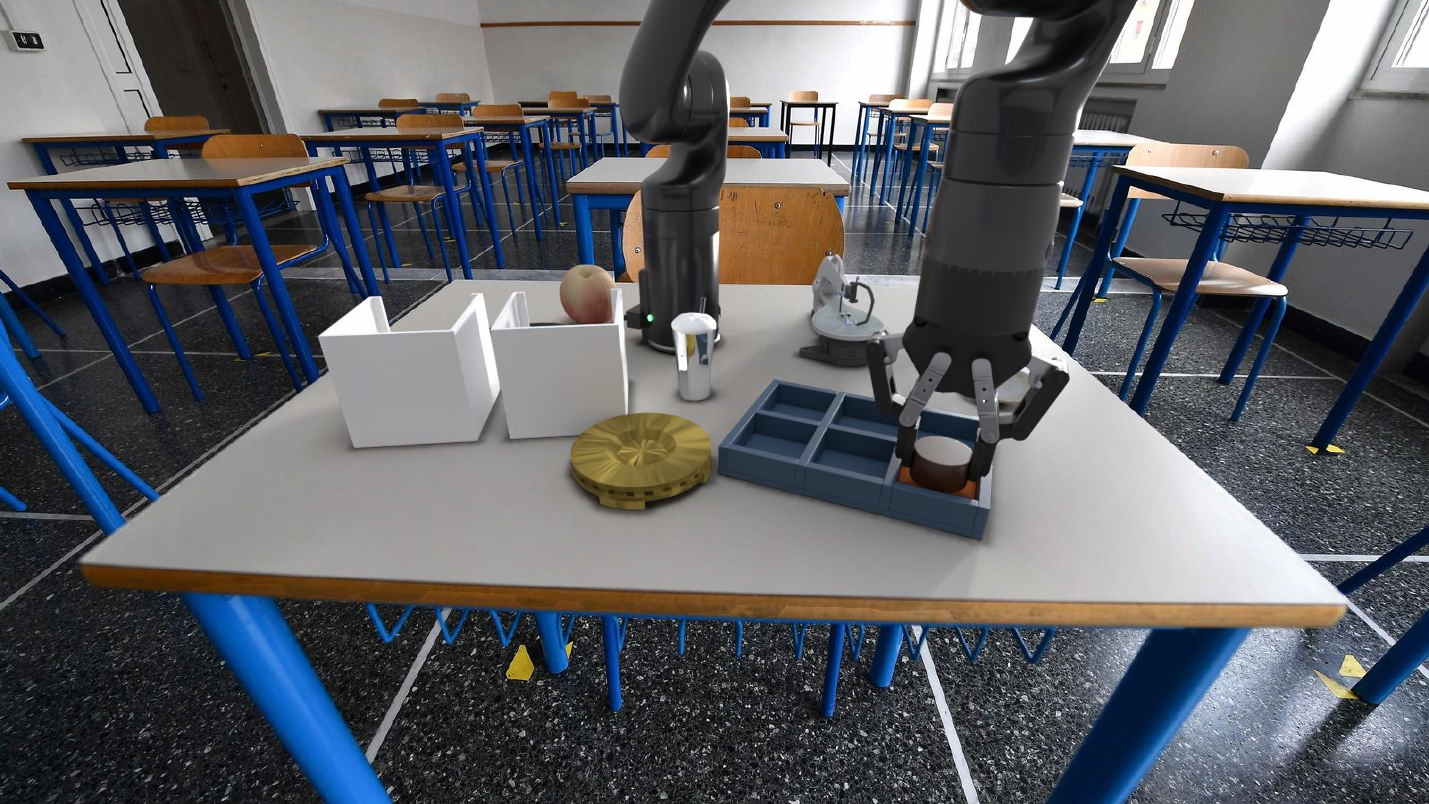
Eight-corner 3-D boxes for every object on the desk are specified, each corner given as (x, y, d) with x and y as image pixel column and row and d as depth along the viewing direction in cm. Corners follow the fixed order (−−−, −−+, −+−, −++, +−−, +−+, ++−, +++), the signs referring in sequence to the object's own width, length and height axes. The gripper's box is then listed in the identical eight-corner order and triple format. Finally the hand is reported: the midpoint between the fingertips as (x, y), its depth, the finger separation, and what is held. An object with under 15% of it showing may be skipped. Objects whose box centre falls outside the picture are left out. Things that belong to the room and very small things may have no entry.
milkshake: (723, 385, 67) (724, 299, 62) (707, 407, 62) (707, 315, 58) (685, 380, 68) (683, 295, 64) (667, 400, 64) (663, 310, 59)
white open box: (354, 447, 55) (317, 336, 50) (396, 394, 65) (369, 296, 60) (627, 432, 58) (618, 324, 53) (628, 383, 67) (621, 288, 62)
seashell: (966, 422, 63) (1050, 413, 61) (966, 399, 62) (1052, 389, 59) (954, 377, 70) (1030, 368, 67) (953, 355, 68) (1030, 345, 66)
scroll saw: (786, 241, 83) (868, 241, 84) (782, 314, 88) (859, 313, 89) (811, 282, 66) (914, 282, 66) (804, 370, 71) (900, 369, 71)
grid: (718, 473, 52) (718, 445, 50) (772, 402, 63) (773, 378, 62) (981, 540, 44) (990, 509, 43) (988, 445, 56) (995, 419, 54)
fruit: (564, 335, 81) (556, 277, 77) (563, 315, 88) (556, 261, 84) (623, 330, 82) (619, 273, 79) (617, 311, 89) (613, 258, 85)
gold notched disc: (551, 459, 54) (547, 438, 53) (664, 420, 60) (663, 401, 59) (614, 529, 45) (612, 506, 44) (739, 475, 51) (739, 454, 50)
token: (905, 485, 46) (910, 458, 45) (913, 456, 50) (917, 431, 49) (965, 499, 45) (972, 471, 44) (968, 469, 48) (975, 442, 47)
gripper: (1102, 249, 40) (1037, 465, 48) (884, 230, 45) (858, 428, 53) (1119, 278, 34) (1040, 520, 42) (864, 253, 39) (838, 472, 47)
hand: (938, 468), depth 47 cm, fingers closed on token, 4 cm apart
